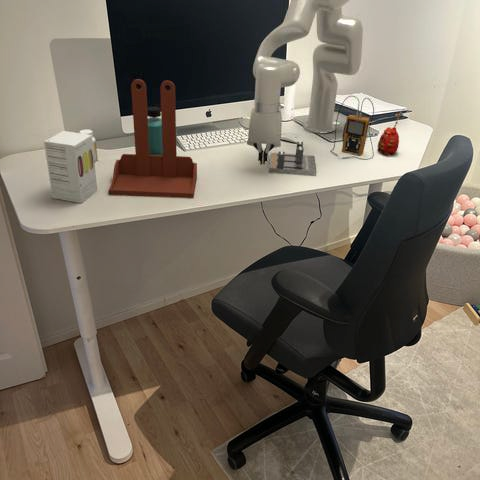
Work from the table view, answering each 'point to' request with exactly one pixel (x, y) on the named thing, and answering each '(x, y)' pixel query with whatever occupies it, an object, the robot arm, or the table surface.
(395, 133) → the red clay folk toy
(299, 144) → the block
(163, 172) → the hanging shelf
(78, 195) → the supplement box
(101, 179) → the table surface
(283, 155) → the breaker near
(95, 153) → the supplement bottle
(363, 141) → the multimeter
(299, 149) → the breaker mid
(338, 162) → the table surface
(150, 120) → the beverage bottle
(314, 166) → the panel
